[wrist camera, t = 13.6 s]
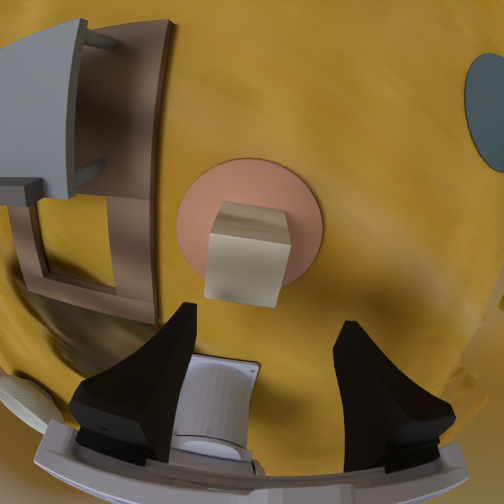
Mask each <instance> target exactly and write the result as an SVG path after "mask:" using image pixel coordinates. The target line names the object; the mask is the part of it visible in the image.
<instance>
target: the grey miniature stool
mask: <svg viewBox="0 0 504 504" xmlns="http://www.w3.org/2000/svg"><path fill="white" fill-rule="evenodd" d="M87 25H88V20H85V19H82V18H79V19H75V20H72V21H68V22H65V23H62V24H59V25H56V26H53V27H50V28H47V29H45V30H42V31H39V32H37V33H34V34H32V35H30V36H27V37H25V38H22V39H20V40H18V41H16V42H14V43H12V44H9V45H7V46H5V47H3V48H1V49H0V205H5V206H15V207H24V208H27V207H29V206H30V205H32V204H34V203H35V202H37V201H39V200H40V199H42V198H56V199H67V200H68V199H70V198H71V197H73V196H75V195H76V189H75V187H76V186H78V185H80V184H82V183H83V182H85V181H87V180H89V179H91V178H93V177H95V176H97V175H99V174H101V173H103V172H104V171H105V169H106V164H105V162H104V161H103V160H102V159H98V160H95V161H93V162H91V163H88V164H86V165H84V166H81V167H79V168H77V169H74V127H75V107H76V95H77V85H78V76H79V68H80V61H81V55H82V49H83V45H86V46H90V47H94V48H98V49H102V50H106V51H110V50H112V49H114V47H115V46H116V44H117V40H116V39H115V38H114V37H111V36H108V35H105V34H102V33H99V32H96V31H93V30H90V29H87Z"/></svg>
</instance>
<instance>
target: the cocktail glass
mask: <svg viewBox="0 0 504 504" xmlns="http://www.w3.org/2000/svg"><path fill="white" fill-rule="evenodd" d="M464 97H465V111H466V118H467V123H468V127H469V130H470V134H471V137H472V139H473V142H474V144H475V147H476V148H477V150H478V152H479V154H480V155H481V157H482V158H483V159H484V161H485V162H486V163H487V164H488V165H489V166H490V167H492V168H493V169H495V170H496V171H499V172H502V173H504V58H503V57H501V56H499V55H496V54H490V53H488V54H484V55H481V56H479V57H478V58H477V59H476V60H475V61H474V62H473V63H472V65H471V67H470V68H469V71H468V74H467V77H466V83H465V95H464Z"/></svg>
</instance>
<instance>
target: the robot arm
mask: <svg viewBox="0 0 504 504" xmlns="http://www.w3.org/2000/svg"><path fill="white" fill-rule="evenodd" d="M196 336H197V304H194V303H188V302H184V303H182V304H181V306H180V307H179V308H178V310H177V311H176V312H175V313H174V315H173V316H172V317H171V318H170V319H169V320H168V322H167V323H166V324H165V325H164V326H163V327H162V328H161V329H160V330H159V331H158V332H157V333H156V334H155V335H154V336H153V337H152V338H151V339H150V340H149V341H148V342H146V343H145V344H144V345H143V346H142V347H141V348H139V349H138V350H137V351H136V352H134V353H133V354H131V355H130V356H129V357H127V358H126V359H124V360H123V361H121V362H120V363H118V364H116V365H115V366H113V367H111V368H109V369H107V370H106V371H104V372H102V373H100V374H98V375H95V376H93V377H91V378H88V379H86V380H83V381H81V383H80V385H79V386H78V387H77V389H76V391H75V393H74V395H73V397H72V399H71V401H70V403H69V410H70V412H71V413H72V415H73V416H74V417H75V419H76V420H77V421H78V423H79V424H80V425H81V427H80V430H79V432H78V431H77V430H76V429H74V428H72V427H70V426H68V425H66V424H64V423H62V422H59V421H57V420H55V419H51V421H50V423H49V425H48V427H47V429H46V432H45V434H44V436H43V439H42V441H41V444H40V446H39V448H38V451H37V453H36V456H35V458H34V463H36V464H37V465H39V466H40V467H41V468H43V469H44V470H46V471H47V472H49V473H50V474H52V475H53V476H55V477H56V478H58V479H59V480H61V481H63V482H66V483H67V484H69V485H71V486H73V487H76V488H78V489H80V490H82V491H84V492H87V493H89V494H91V495H94V496H96V497H98V498H101V499H103V500H106V501H108V502H111V503H114V504H418V503H421V502H423V501H426V500H429V499H431V498H434V497H436V496H438V495H441V494H442V493H445V492H447V491H448V490H450V489H452V488H454V487H456V486H458V485H459V484H461V483H463V482H464V481H466V480H468V479H469V474H468V471H467V467H466V463H465V460H464V457H463V454H462V451H461V448H460V445H459V442H455V443H452V444H449V445H446V446H443V447H441V448H439V449H438V446H437V444H439V443H440V440H439V436H440V435H441V434H443V433H444V432H445V431H446V430H447V429H448V428H450V427H451V426H452V425H453V423H454V422H455V419H456V416H455V414H454V411H453V409H452V406H451V404H449V403H447V402H445V401H443V400H441V399H439V398H437V397H435V396H434V395H432V394H430V393H429V392H427V391H426V390H424V389H423V388H421V387H420V386H418V385H417V384H416V383H414V382H413V381H412V380H411V379H409V378H408V377H407V376H406V375H405V374H404V373H402V372H401V371H400V370H399V369H398V368H397V367H396V366H395V365H394V364H393V363H392V362H391V361H390V360H389V359H388V358H387V357H386V356H385V354H384V353H383V352H382V351H381V350H380V349H379V348H378V346H377V345H376V344H375V343H374V342H373V340H372V339H371V338H370V337H369V336H368V334H367V333H366V332H365V331H364V330H363V328H362V327H361V326H360V325H359V324H358V322H357V321H346V320H345V322H344V325H343V327H342V329H341V332H340V334H339V336H338V338H337V340H336V343H335V345H334V347H333V358H334V367H335V372H336V376H337V381H338V385H339V390H340V395H341V399H342V405H343V412H344V427H345V457H344V471H343V473H337V474H327V475H312V476H266V475H265V471H264V469H263V467H262V466H261V465H260V463H259V462H258V461H257V460H252V450H247V433H248V415H249V401H250V398H251V394H252V391H253V387H254V384H255V380H256V377H257V373H258V370H259V365H258V364H257V363H253V362H245V361H237V360H229V359H222V358H215V357H209V356H203V355H197V354H193V350H194V346H195V341H196Z"/></svg>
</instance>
